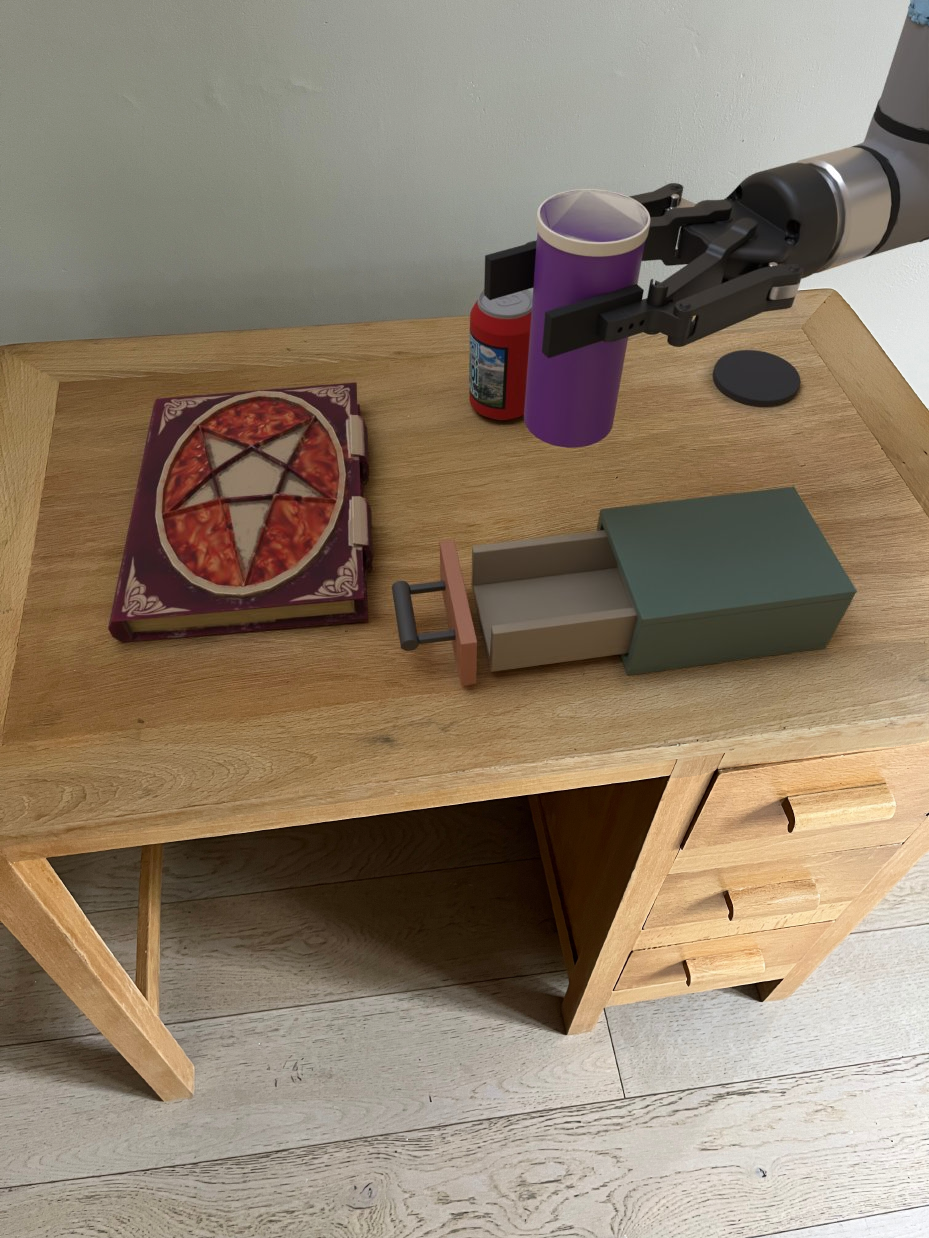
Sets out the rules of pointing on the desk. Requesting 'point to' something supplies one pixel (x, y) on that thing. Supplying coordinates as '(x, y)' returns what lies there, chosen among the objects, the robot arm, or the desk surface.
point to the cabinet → (725, 578)
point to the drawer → (528, 603)
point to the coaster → (756, 378)
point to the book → (248, 516)
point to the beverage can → (499, 354)
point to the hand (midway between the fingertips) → (516, 305)
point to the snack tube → (568, 273)
